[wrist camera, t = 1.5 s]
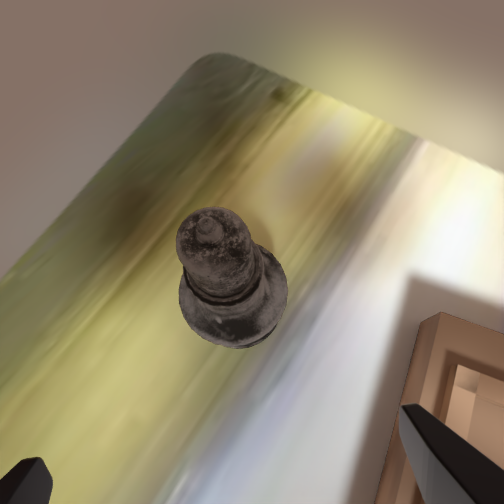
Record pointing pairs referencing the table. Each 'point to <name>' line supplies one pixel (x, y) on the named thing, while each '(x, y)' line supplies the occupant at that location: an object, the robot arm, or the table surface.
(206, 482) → the table surface
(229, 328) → the antique pepper shaker
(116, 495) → the table surface
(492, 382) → the walnut plinth
